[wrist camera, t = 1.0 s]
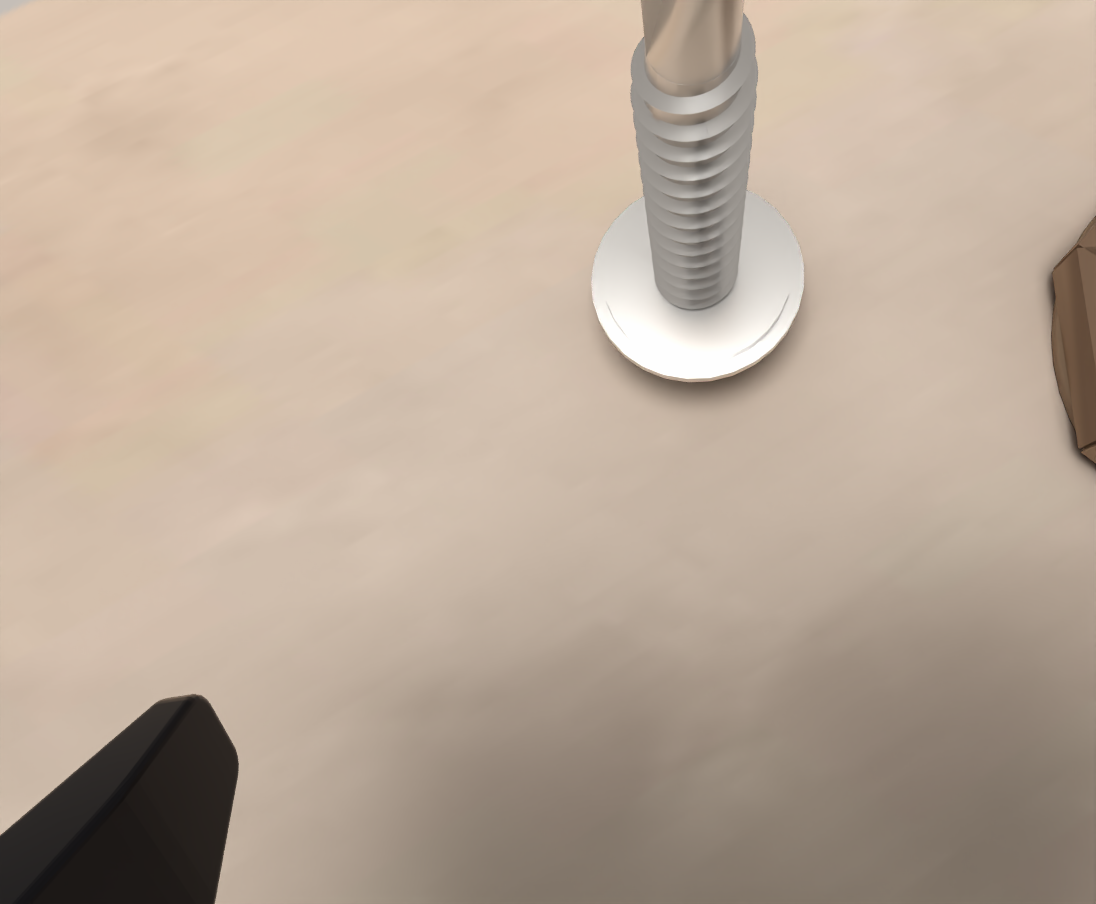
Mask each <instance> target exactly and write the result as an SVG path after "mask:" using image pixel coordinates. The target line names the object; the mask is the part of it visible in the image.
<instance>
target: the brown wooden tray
mask: <svg viewBox="0 0 1096 904" xmlns="http://www.w3.org/2000/svg"><path fill="white" fill-rule="evenodd" d="M1052 275H1053V282H1054V289H1055V295H1056V299H1055V304H1054V309H1053V322H1052V335H1051V336H1052V350H1053V364H1054V369H1055V373H1056V378H1057V382H1058V387H1059V391H1060V394H1061V397H1062V400H1063V402H1064V405H1065V408H1066V410H1067V413H1068V416H1069V418H1070V421H1071V423H1072V425H1073V427H1074V428H1075V430H1076V436H1077V443H1078V448H1084V449H1083V450H1082V452H1081V453H1082V454H1084V455H1085V456H1086V457H1088V458H1089V459H1090V460H1092V461H1093V462H1094V463H1096V216H1095V217H1094V219H1093V220H1092V221H1091V222H1090V224H1089V225H1088V226H1087V228H1086V229H1085V230H1084V232H1083V233H1082V235H1081V237H1080V238H1079V240H1078V242H1077V243H1076V244H1075V245H1074V247H1073V248H1072V249H1071V250H1070V251H1069V252H1068V253H1067V254H1066V255H1065V257H1064V258H1063V259H1062V260H1061V261H1060V262H1059V263H1058V264H1057V265H1056V266H1055V268H1054V271H1053V272H1052Z"/></svg>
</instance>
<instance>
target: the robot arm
mask: <svg viewBox="0 0 1096 904" xmlns="http://www.w3.org/2000/svg"><path fill="white" fill-rule="evenodd" d="M238 768H239V763H238V756H237V752H236V749H235V747H234V745H233V743H232V741H231V740H230V738H229V736H228V734H227V733H226V731H225V729H224V727H223V726H222V724H221V722H220V720H219V718H218V717H217V715H216V713H215V711H214V710H213V708H212V706H211V704H210V703H209V701H208V700H207V699H206V698H204V697H203V696H201V695H196V694H191V695H185V696H178V697H171V698H166V699H163V700H160V701H158V702H157V703H155V704H154V705H153V706H152V707H150V708H149V709H148V710H147V711H146V712H144V713H143V714H142V715H141V716H140V717H139V718H137V719H136V720H135V721H134V722H133V723H132V724H130V725H129V726H128V727H127V728H126V729H125V730H123V731H122V732H121V733H120V734H119V735H117V736H116V737H115V738H114V739H113V740H112V741H110V742H109V743H108V744H107V745H106V746H105V747H103V748H102V749H101V750H100V751H99V752H98V753H96V754H95V755H94V756H93V757H92V758H91V759H89V760H88V761H87V762H86V763H85V764H83V765H82V766H81V767H80V768H79V769H78V770H76V771H75V772H74V773H73V774H72V775H71V776H69V777H68V778H67V779H66V780H65V781H64V782H62V783H61V784H60V785H59V786H58V787H57V788H55V789H54V790H53V791H52V792H51V793H49V794H48V795H47V796H46V797H45V798H44V799H42V800H41V801H40V802H39V803H38V804H37V805H35V806H34V807H33V808H32V809H31V810H30V811H28V812H27V813H26V814H25V815H24V816H22V817H21V818H20V819H19V820H18V821H17V822H15V823H14V824H13V825H12V826H11V827H10V828H8V829H7V830H6V831H5V832H4V833H3V834H1V835H0V904H215V899H216V894H217V888H218V883H219V877H220V872H221V866H222V861H223V855H224V850H225V844H226V839H227V833H228V828H229V822H230V817H231V811H232V806H233V800H234V795H235V789H236V784H237V778H238Z"/></svg>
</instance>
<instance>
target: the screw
mask: <svg viewBox="0 0 1096 904" xmlns="http://www.w3.org/2000/svg"><path fill="white" fill-rule="evenodd" d="M743 7H744V0H641V8H642V18H643V29H644V37H643V38H642V40H641V41H640V43H639V44H638V46H637V48H636V49H635V51H634V54H633V57H632V62H631V77H632V85H631V93H630V94H631V103H632V107H633V110H634V112H633V119H634V126H635V129H636V142H637V147H638V150H639V153H638V155H639V163H640V167H641V179H642V183H643V195H644V196H643V197H641V198H640V199H638V200H637V201H635V202H633V203H632V204H630V205H629V206H628V207H627V208H626V209H625V210H624V211H623V212H622V213H621V214H620V215H619V216H618V217H617V218H616V219H615V220H614V222H613V223H612V225H611V226H610V228H609V229H608V230H607V232H606V233H605V235H604V236H603V238H602V241H601V243H600V246H599V248H598V250H597V253H596V255H595V259H594V265H593V271H592V277H591V281H592V297H593V302H594V305H595V309H596V312H597V315H598V319H599V322H600V324H601V326H602V328H603V329H604V331H605V333H606V335H607V336H608V338H609V340H610V342H611V343H612V344H613V345H614V346H615V347H616V348H617V349H618V350H619V351H620V352H621V354H622V355H623V356H624V357H625V358H627V359H628V360H629V361H631V362H632V363H634V364H635V365H637V366H638V367H640V368H641V369H643V370H645V371H647V372H650V373H652V374H655V375H657V376H660V377H662V378H665V379H671V380H677V381H683V382H705V381H714V380H718V379H722V378H725V377H729V376H733V375H735V374H737V373H739V372H742V371H744V370H746V369H748V368H750V367H752V366H754V365H755V364H757V363H758V362H759V361H760V360H762V359H763V358H764V357H765V356H767V355H768V354H769V353H771V352H772V351H773V350H774V349H775V347H776V346H777V345H778V344H779V343H780V341H781V340H782V339H783V338H784V337H785V335H786V334H787V333H788V331H789V329H790V327H791V325H792V323H793V321H794V319H795V317H796V315H797V312H798V309H799V305H800V301H801V297H802V293H803V289H804V263H803V259H802V254H801V250H800V246H799V243H798V241H797V239H796V237H795V235H794V233H793V231H792V229H791V227H790V225H789V224H788V223H787V221H786V220H785V219H784V218H783V217H782V216H781V214H780V213H779V212H778V211H777V210H776V208H775V207H773V206H772V205H771V204H769V203H768V202H767V201H765V200H764V199H763V198H761V197H760V196H759V195H757V194H755V193H753V192H750V191H748V190H746V189H747V188H746V187H747V182H748V169H749V164H750V150H751V146H752V132H753V126H754V111H755V107H756V98H757V96H756V86H757V81H758V66H757V61H756V57H755V37H754V32H753V29H752V26H751V24H750V22H749V20H748V18H747V17H746V15H745V14H744V13H743Z"/></svg>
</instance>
